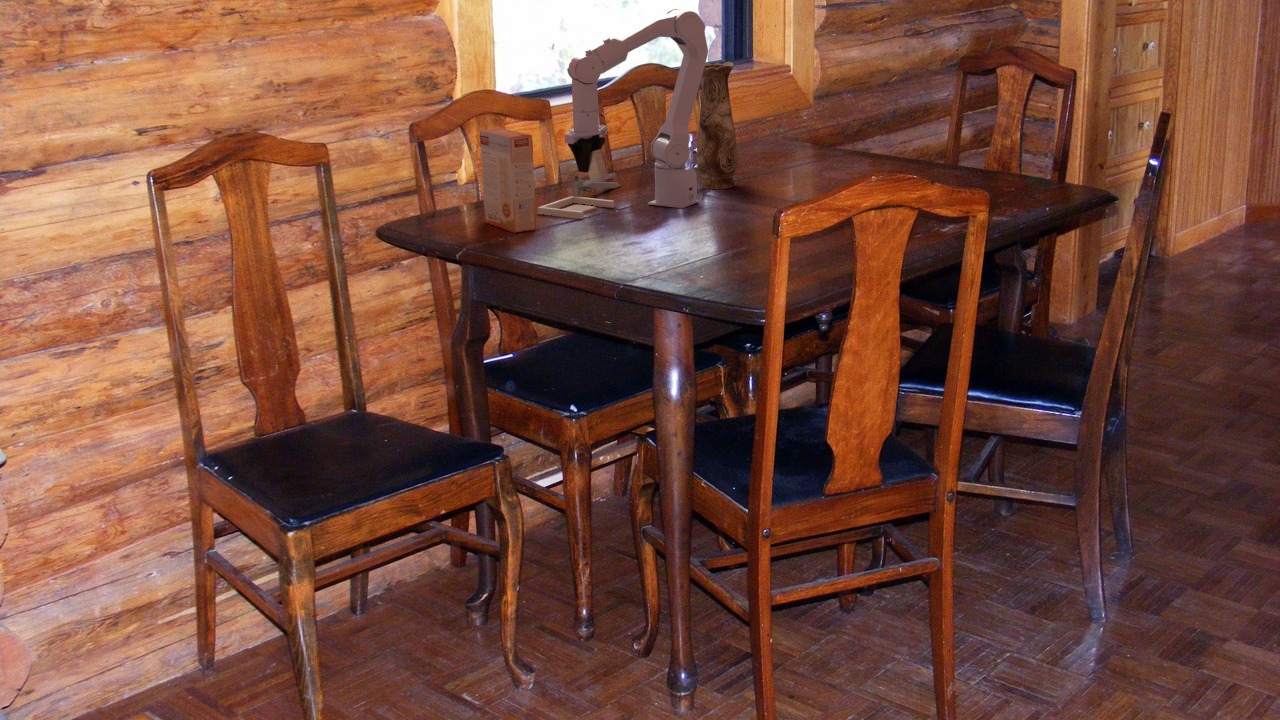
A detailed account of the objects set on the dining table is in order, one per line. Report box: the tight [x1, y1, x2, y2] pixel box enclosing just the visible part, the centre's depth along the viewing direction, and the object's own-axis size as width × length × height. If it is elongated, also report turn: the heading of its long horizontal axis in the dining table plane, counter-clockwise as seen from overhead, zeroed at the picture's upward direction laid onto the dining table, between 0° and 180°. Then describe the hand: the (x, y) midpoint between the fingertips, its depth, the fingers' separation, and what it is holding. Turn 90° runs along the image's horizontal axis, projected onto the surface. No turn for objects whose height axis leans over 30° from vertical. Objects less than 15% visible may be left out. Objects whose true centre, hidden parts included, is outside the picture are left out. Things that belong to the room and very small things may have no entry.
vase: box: [696, 61, 739, 190], centre depth 313 cm, size 10×11×30 cm
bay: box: [536, 195, 615, 220], centre depth 294 cm, size 12×14×2 cm
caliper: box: [571, 175, 622, 197], centre depth 311 cm, size 20×1×6 cm, turn 149°
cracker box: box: [479, 127, 537, 234], centre depth 277 cm, size 14×6×21 cm, turn 34°
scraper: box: [582, 149, 617, 186], centre depth 288 cm, size 4×8×7 cm, turn 148°
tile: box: [562, 204, 598, 215], centre depth 294 cm, size 6×6×1 cm
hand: (587, 170), depth 289 cm, fingers closed on scraper, 3 cm apart
